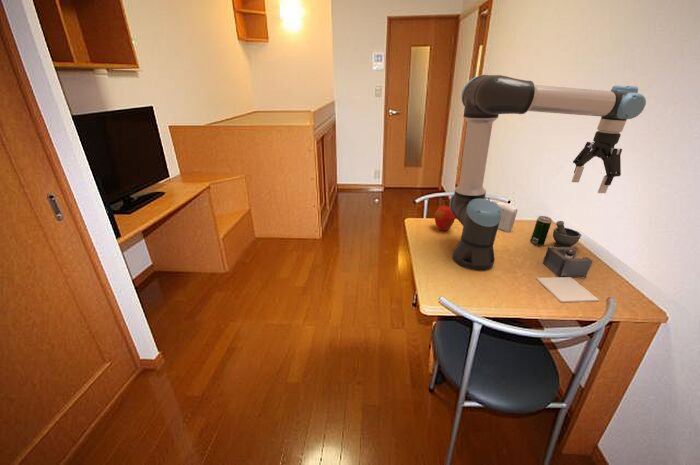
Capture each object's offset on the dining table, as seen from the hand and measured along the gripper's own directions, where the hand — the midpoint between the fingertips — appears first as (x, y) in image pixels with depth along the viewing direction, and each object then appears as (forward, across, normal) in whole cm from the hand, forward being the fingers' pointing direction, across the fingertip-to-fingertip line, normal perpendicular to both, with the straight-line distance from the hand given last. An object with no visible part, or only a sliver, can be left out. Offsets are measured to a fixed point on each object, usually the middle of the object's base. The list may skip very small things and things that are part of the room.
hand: (587, 187), depth 126 cm
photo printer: (+27, +19, +19) cm, 38 cm away
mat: (+26, -30, +23) cm, 46 cm away
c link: (+26, -18, +15) cm, 36 cm away
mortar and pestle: (+26, -1, +3) cm, 27 cm away
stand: (+26, -18, +15) cm, 36 cm away
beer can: (+26, +2, +12) cm, 29 cm away
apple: (+27, +18, +48) cm, 58 cm away
